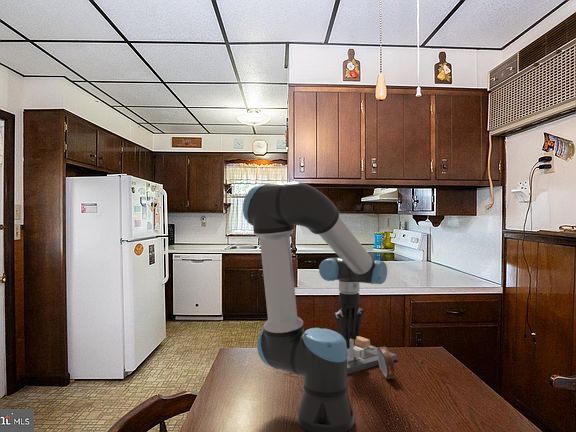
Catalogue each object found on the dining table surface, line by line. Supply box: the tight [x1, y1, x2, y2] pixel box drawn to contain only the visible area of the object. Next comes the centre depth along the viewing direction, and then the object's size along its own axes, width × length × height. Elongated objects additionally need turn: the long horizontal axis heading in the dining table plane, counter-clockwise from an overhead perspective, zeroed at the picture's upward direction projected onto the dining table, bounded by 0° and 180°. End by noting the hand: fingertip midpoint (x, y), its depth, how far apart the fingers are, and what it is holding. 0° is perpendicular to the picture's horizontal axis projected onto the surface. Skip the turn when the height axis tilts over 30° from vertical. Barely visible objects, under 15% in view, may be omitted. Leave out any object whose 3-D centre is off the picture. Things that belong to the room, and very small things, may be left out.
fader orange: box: [355, 335, 371, 349], centre depth 151 cm, size 4×6×4 cm, turn 32°
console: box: [347, 344, 398, 375], centre depth 145 cm, size 30×15×3 cm, turn 122°
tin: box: [377, 346, 395, 380], centre depth 133 cm, size 15×3×8 cm, turn 178°
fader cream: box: [354, 345, 364, 360], centre depth 140 cm, size 4×6×4 cm, turn 32°
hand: (349, 356), depth 139 cm, fingers closed
